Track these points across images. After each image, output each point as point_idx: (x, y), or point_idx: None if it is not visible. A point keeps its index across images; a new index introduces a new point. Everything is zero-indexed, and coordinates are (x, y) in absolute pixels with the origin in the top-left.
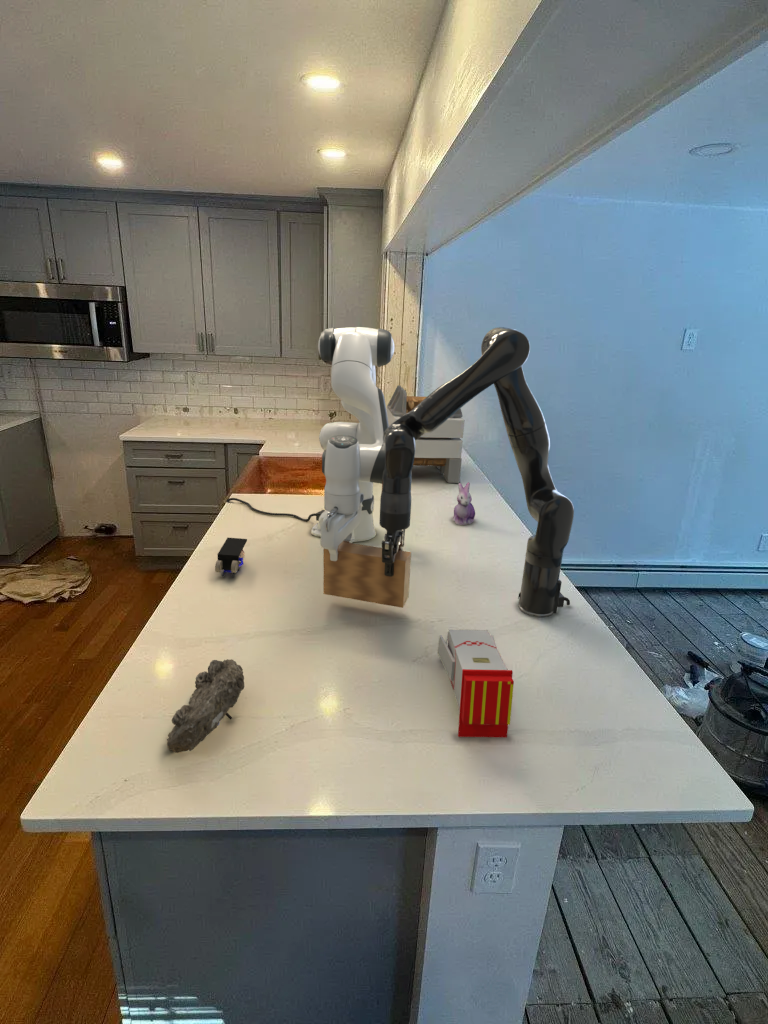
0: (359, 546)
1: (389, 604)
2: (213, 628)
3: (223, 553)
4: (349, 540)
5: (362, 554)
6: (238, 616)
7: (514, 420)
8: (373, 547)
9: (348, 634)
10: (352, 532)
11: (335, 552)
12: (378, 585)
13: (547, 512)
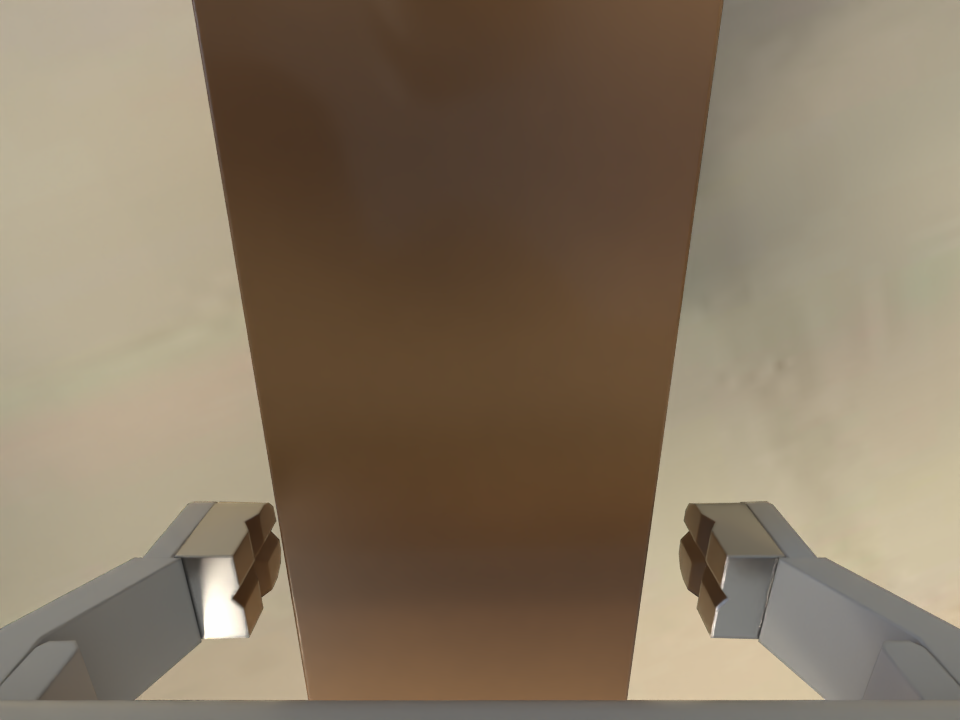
0: (346, 355)
1: None
2: (814, 691)
3: None
4: (192, 568)
5: (689, 183)
6: (710, 660)
7: None
8: (261, 64)
9: (778, 155)
10: (23, 652)
11: (890, 606)
12: None
13: None
